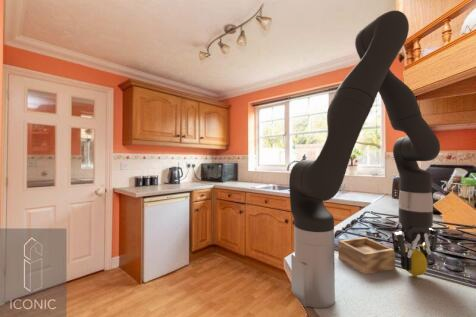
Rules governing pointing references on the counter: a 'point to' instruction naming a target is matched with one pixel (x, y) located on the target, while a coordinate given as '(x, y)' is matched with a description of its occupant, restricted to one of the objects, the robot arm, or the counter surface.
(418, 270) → the lemon
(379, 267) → the oak box
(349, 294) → the counter surface
